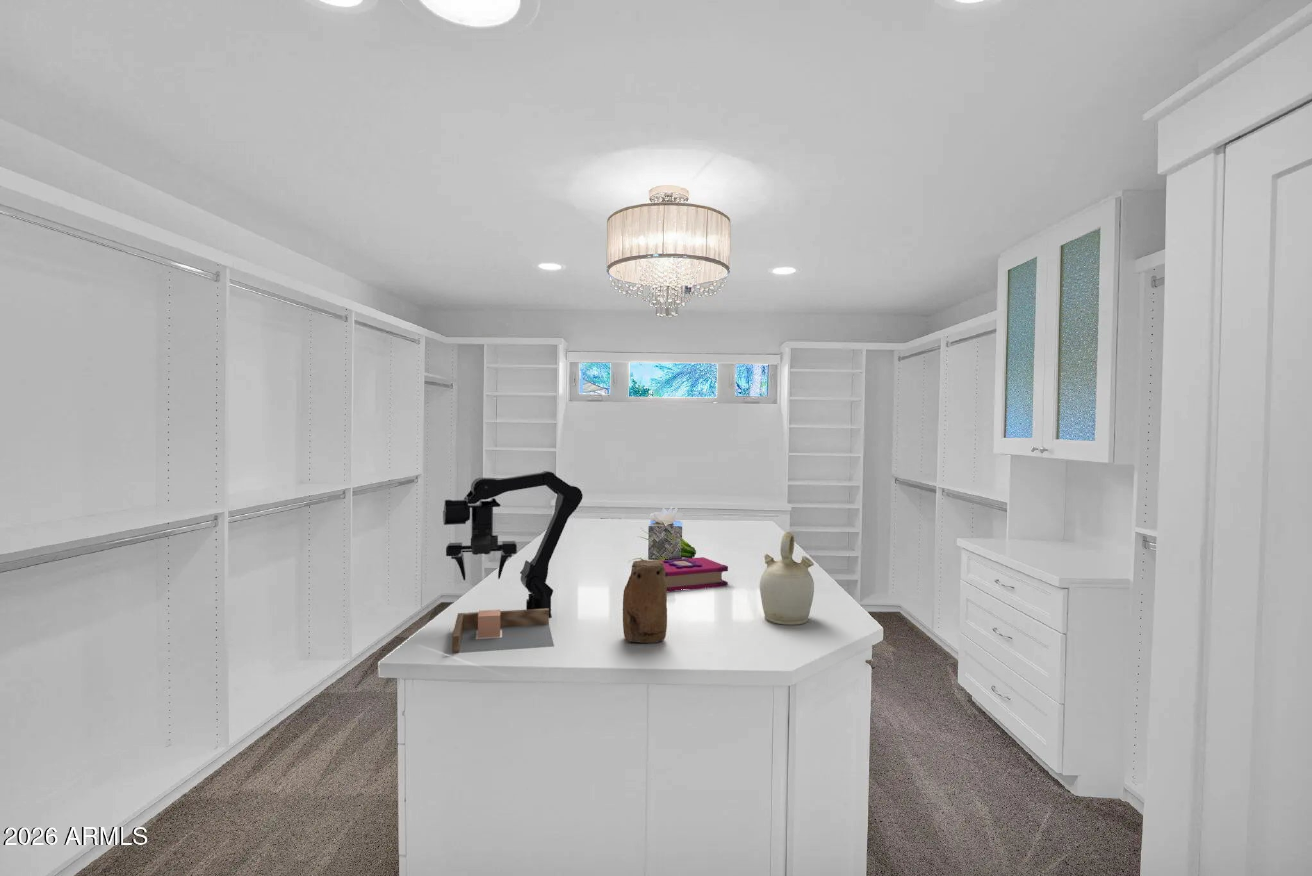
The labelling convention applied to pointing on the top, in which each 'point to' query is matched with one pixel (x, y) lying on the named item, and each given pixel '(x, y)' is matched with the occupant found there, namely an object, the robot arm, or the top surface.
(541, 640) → the mat
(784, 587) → the jug
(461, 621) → the corner walls
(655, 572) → the brown carved figurine
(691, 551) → the decorative plant
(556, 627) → the top surface
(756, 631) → the top surface
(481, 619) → the cube
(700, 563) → the book
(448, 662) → the top surface
